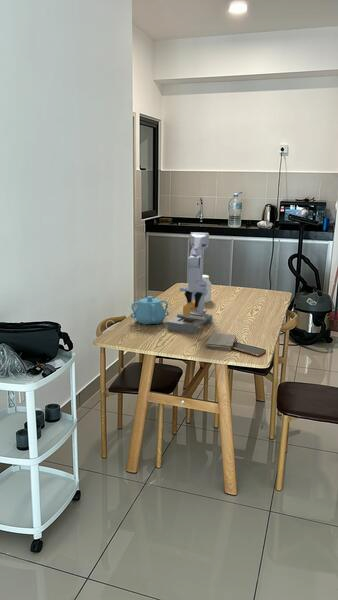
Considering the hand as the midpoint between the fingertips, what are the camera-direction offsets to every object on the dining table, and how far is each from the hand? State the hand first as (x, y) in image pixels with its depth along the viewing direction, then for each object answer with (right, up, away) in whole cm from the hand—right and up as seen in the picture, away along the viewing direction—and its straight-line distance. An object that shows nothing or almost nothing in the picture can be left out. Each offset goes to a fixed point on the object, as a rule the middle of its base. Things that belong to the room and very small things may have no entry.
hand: (193, 306), depth 241 cm
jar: (+8, +3, +50) cm, 51 cm away
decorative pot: (-22, -8, +5) cm, 24 cm away
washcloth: (+11, -17, -25) cm, 32 cm away
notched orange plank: (-1, -3, -2) cm, 4 cm away
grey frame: (-2, -10, 0) cm, 10 cm away
